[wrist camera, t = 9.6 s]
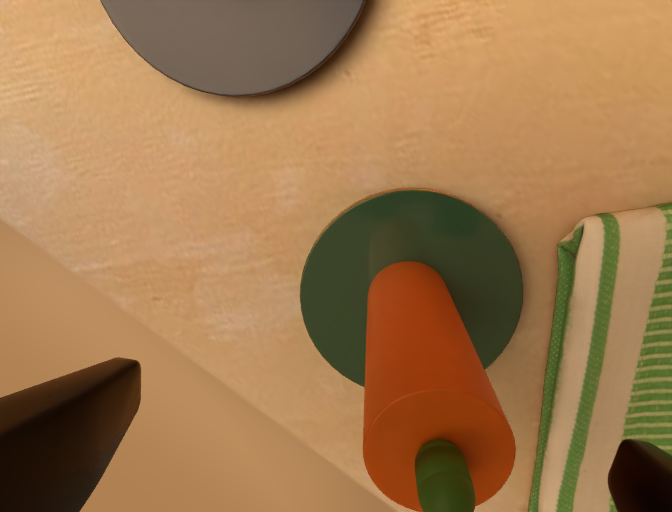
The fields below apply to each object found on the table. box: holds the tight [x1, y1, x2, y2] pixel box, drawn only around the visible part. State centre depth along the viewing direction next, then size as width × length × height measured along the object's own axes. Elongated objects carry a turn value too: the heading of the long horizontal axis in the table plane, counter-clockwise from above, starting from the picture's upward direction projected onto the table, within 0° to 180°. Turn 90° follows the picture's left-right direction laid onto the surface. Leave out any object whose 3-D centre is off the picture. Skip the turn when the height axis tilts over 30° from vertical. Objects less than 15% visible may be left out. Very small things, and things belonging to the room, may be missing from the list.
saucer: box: [300, 188, 523, 387], centre depth 21 cm, size 10×10×1 cm
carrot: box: [363, 261, 516, 512], centre depth 15 cm, size 4×4×12 cm
